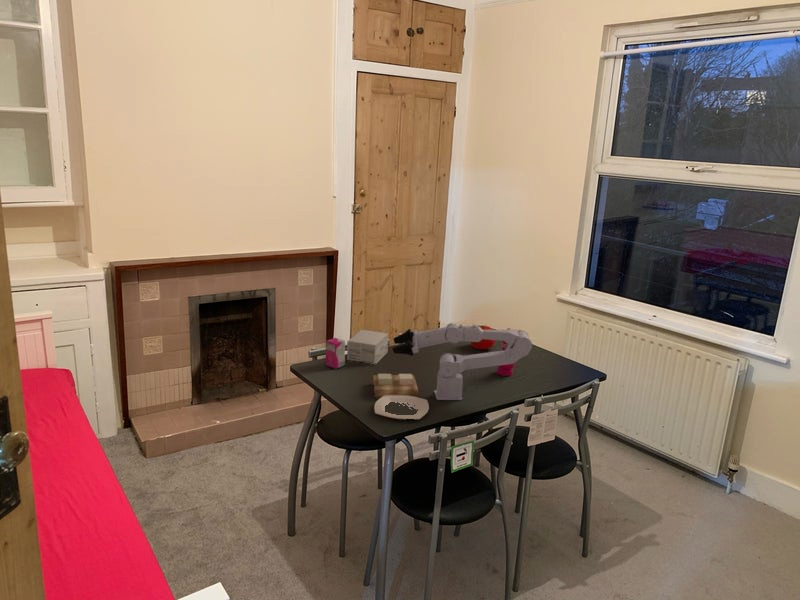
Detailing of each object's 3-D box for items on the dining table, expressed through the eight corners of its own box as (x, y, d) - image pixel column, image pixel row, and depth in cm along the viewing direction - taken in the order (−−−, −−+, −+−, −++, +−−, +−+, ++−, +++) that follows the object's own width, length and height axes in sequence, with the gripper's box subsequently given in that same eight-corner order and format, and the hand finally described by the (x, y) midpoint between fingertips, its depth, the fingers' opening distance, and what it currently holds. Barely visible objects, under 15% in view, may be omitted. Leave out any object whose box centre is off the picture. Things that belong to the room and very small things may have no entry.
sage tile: (390, 379, 231) (391, 373, 230) (391, 384, 226) (392, 378, 225) (377, 379, 230) (378, 373, 229) (378, 384, 225) (378, 378, 225)
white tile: (411, 379, 231) (411, 373, 231) (412, 384, 227) (413, 378, 226) (398, 379, 231) (398, 373, 230) (399, 384, 226) (399, 378, 225)
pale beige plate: (423, 426, 202) (424, 421, 202) (368, 419, 206) (368, 414, 205) (432, 403, 220) (432, 398, 220) (381, 396, 224) (381, 392, 224)
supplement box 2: (360, 348, 274) (361, 329, 271) (387, 352, 270) (388, 333, 268) (346, 360, 258) (346, 340, 256) (374, 365, 254) (375, 344, 252)
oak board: (413, 383, 237) (413, 375, 236) (417, 398, 223) (418, 389, 222) (373, 383, 235) (373, 375, 234) (374, 398, 222) (375, 389, 221)
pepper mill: (493, 374, 250) (497, 328, 245) (499, 368, 256) (503, 324, 251) (510, 377, 247) (514, 331, 241) (515, 372, 253) (520, 327, 248)
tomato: (490, 343, 288) (492, 322, 285) (496, 353, 275) (498, 330, 272) (466, 343, 287) (468, 321, 284) (471, 352, 274) (473, 330, 271)
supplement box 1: (335, 362, 255) (335, 337, 252) (345, 366, 251) (345, 340, 248) (325, 366, 251) (325, 340, 248) (335, 369, 247) (335, 343, 244)
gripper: (426, 320, 226) (391, 327, 228) (427, 338, 213) (390, 345, 214) (430, 336, 229) (396, 343, 230) (431, 354, 215) (395, 362, 217)
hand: (393, 345), depth 223 cm, fingers open, 7 cm apart
